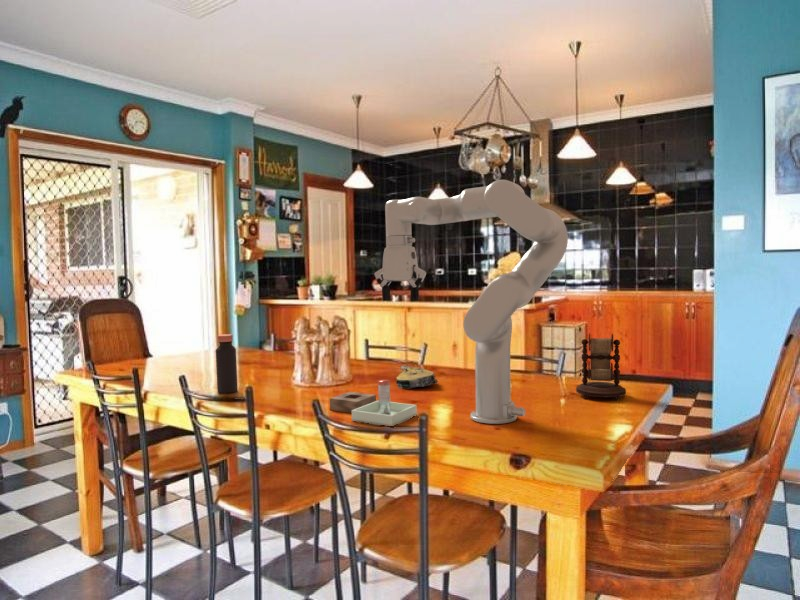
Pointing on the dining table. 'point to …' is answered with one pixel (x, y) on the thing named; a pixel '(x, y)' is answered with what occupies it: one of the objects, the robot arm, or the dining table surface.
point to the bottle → (226, 365)
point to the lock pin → (384, 397)
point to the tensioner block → (350, 401)
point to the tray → (372, 416)
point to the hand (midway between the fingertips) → (400, 300)
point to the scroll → (600, 369)
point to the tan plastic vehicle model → (415, 377)
